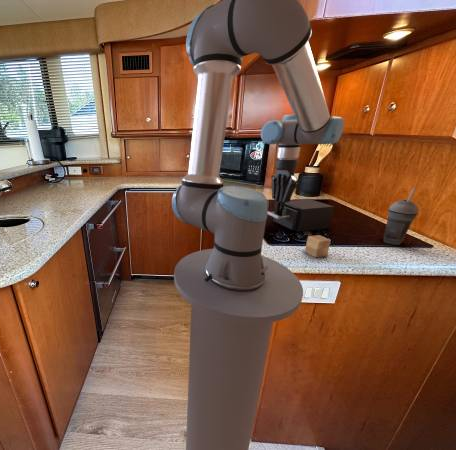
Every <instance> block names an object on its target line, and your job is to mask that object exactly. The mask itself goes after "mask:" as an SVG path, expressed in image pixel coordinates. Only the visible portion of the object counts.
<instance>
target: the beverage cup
mask: <svg viewBox="0 0 456 450" xmlns="http://www.w3.org/2000/svg"><path fill="white" fill-rule="evenodd" d="M415 191H416V188H415V187H412V190H411V191H410V194H409V196H408V198H407V199H400V200H397V201H395V202H393V203H392V204H391V205H390V206H389V208H388V211H387V221H386V225H385V229H384V234H383V239H382V241H383V242H384V243H385V244H388V245H394V246H399V245H401V243H402V242H403V241H404V239H405V236H406V235H407V232H408V231H409V229H410V227H411V225H412V223H413V221H414V220H415V219H416V218H417V216H418V215H419V207H418V205H417V203H415V202H414V201H412V200H411V198H412V197H413V194H414V192H415Z"/></svg>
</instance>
